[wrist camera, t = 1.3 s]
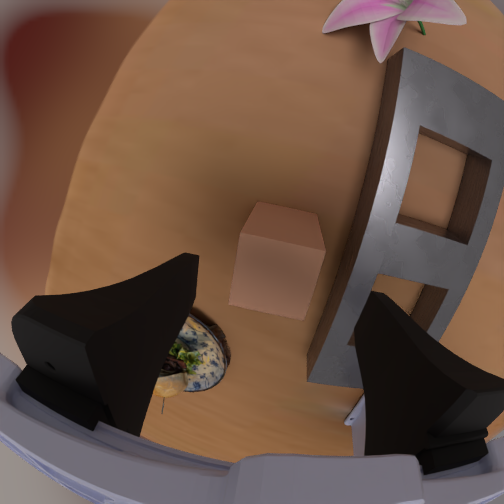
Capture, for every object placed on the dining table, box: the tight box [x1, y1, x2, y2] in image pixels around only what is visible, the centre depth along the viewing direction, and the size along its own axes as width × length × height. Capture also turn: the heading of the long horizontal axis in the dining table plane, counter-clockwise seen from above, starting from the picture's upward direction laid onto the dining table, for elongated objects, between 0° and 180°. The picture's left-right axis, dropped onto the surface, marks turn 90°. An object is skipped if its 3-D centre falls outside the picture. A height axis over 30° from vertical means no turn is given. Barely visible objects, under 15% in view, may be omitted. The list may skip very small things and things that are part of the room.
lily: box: [322, 0, 466, 63], centre depth 11 cm, size 11×11×9 cm
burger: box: [153, 314, 231, 412], centre depth 25 cm, size 12×12×8 cm
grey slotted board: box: [307, 47, 504, 389], centre depth 18 cm, size 26×10×4 cm, turn 170°
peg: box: [229, 201, 326, 321], centre depth 18 cm, size 4×4×7 cm
